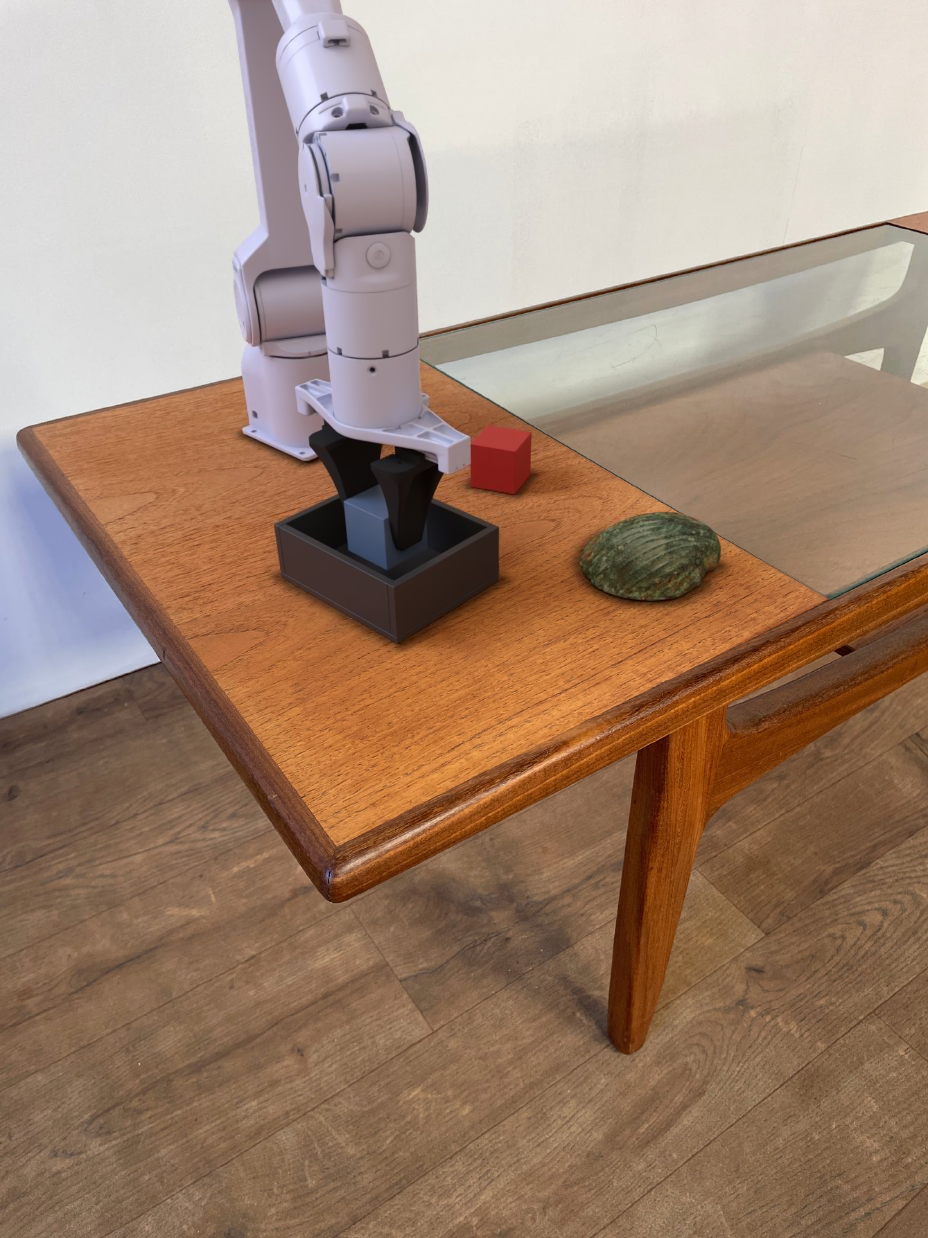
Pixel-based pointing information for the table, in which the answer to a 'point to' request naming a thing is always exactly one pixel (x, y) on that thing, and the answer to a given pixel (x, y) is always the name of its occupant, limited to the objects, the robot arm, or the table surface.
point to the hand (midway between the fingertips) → (386, 533)
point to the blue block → (375, 530)
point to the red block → (500, 459)
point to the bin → (402, 593)
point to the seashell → (651, 556)
